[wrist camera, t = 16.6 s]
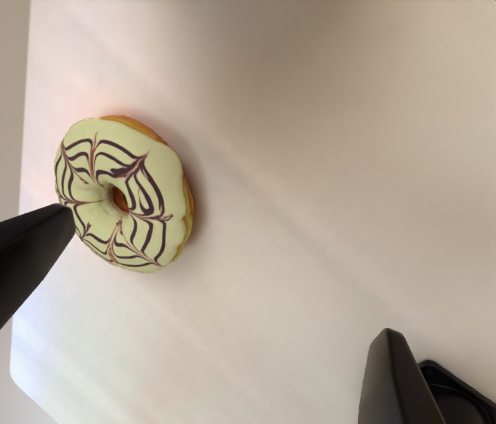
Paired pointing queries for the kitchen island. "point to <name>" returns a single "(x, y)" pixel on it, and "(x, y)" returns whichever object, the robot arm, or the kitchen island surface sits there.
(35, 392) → the kitchen island surface
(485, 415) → the robot arm
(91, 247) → the decorated donut
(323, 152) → the kitchen island surface
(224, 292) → the kitchen island surface
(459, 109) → the kitchen island surface
